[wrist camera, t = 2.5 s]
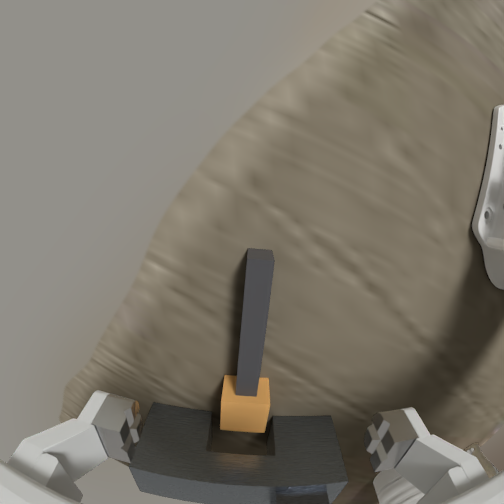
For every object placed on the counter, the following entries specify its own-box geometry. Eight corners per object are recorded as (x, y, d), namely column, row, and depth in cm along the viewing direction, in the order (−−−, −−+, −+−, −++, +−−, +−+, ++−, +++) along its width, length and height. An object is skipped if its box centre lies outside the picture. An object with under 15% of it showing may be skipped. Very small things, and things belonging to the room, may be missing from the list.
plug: (232, 246, 24) (228, 261, 20) (286, 251, 24) (293, 266, 20) (223, 403, 29) (220, 429, 25) (263, 406, 29) (264, 432, 25)
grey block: (153, 402, 29) (120, 489, 16) (330, 415, 29) (354, 504, 17) (158, 431, 31) (134, 511, 18) (319, 443, 31) (334, 523, 18)
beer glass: (484, 436, 34) (512, 480, 20) (471, 454, 36) (495, 496, 22) (461, 447, 35) (489, 496, 20) (449, 465, 36) (472, 511, 22)
